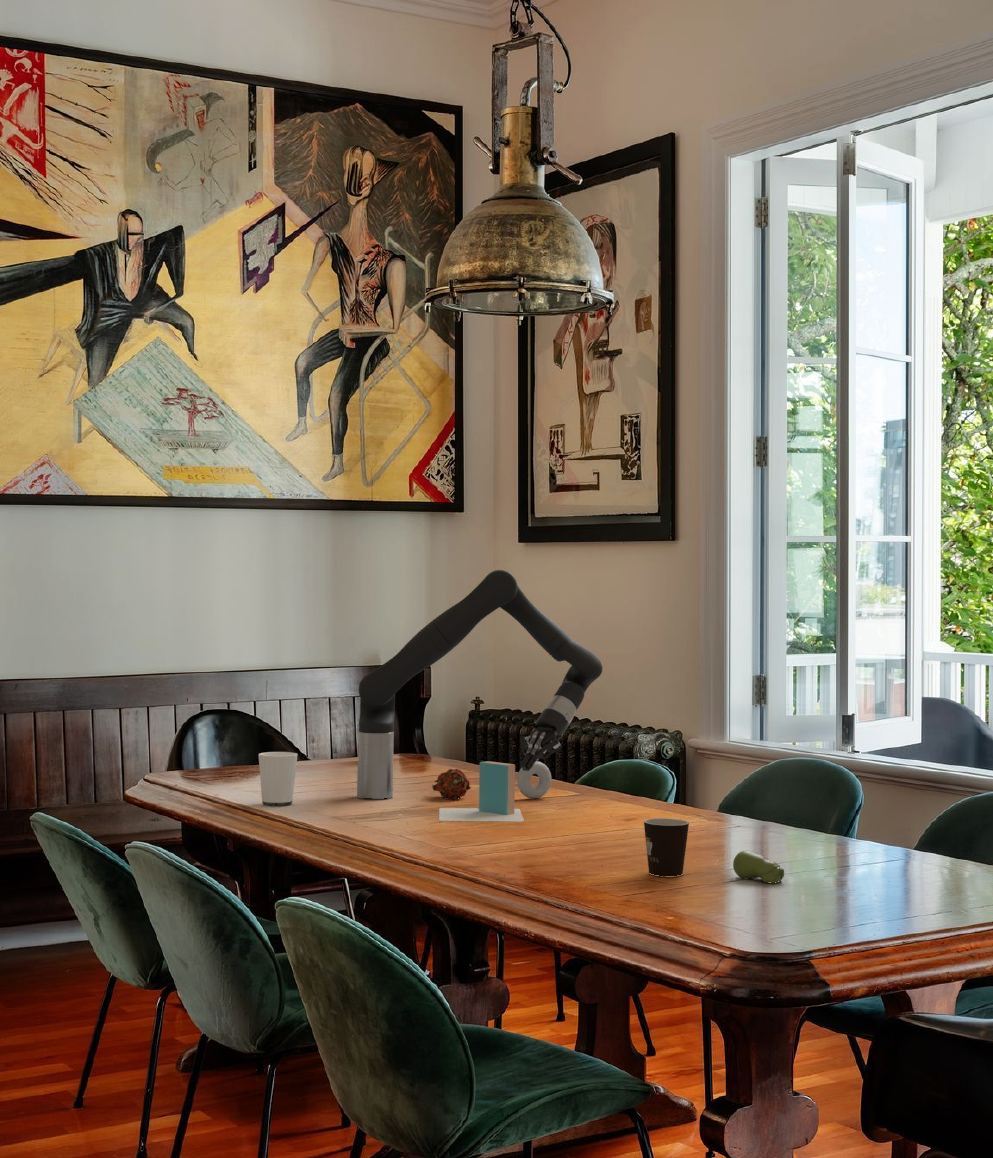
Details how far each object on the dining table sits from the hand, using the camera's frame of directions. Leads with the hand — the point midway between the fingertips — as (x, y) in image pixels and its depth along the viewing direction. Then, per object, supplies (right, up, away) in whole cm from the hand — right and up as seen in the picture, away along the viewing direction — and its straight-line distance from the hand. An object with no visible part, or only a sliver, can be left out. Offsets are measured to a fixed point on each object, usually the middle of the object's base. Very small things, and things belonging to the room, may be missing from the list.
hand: (524, 768), depth 341 cm
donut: (+3, -11, +20) cm, 23 cm away
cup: (-62, -10, +3) cm, 63 cm away
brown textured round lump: (-19, -11, +19) cm, 29 cm away
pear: (+42, -10, -84) cm, 95 cm away
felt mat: (-11, -10, -11) cm, 19 cm away
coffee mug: (+26, -9, -78) cm, 83 cm away
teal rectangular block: (-7, -10, -8) cm, 14 cm away
